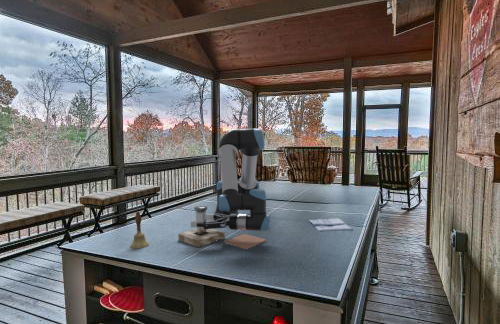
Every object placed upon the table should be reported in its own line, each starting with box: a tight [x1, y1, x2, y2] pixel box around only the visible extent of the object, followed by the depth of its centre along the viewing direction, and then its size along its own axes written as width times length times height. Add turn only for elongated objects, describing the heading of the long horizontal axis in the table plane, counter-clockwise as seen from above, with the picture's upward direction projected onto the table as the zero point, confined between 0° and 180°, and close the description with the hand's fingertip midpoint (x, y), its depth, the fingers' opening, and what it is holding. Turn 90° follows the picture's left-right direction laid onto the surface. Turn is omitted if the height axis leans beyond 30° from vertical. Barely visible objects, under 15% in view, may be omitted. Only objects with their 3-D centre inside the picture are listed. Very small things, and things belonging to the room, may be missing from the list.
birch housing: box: [177, 228, 226, 248], centre depth 148 cm, size 16×16×3 cm
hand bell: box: [129, 211, 150, 249], centre depth 140 cm, size 8×8×16 cm
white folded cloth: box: [308, 217, 353, 232], centre depth 168 cm, size 19×20×2 cm
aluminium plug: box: [193, 205, 208, 236], centre depth 148 cm, size 6×6×16 cm
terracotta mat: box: [223, 233, 267, 250], centre depth 142 cm, size 14×14×1 cm
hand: (196, 220), depth 148 cm, fingers open, 13 cm apart
